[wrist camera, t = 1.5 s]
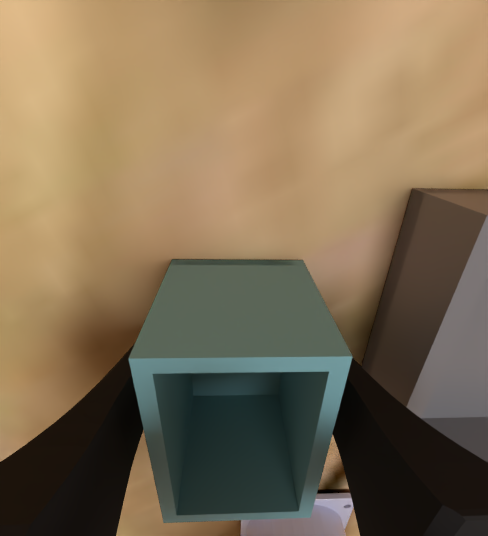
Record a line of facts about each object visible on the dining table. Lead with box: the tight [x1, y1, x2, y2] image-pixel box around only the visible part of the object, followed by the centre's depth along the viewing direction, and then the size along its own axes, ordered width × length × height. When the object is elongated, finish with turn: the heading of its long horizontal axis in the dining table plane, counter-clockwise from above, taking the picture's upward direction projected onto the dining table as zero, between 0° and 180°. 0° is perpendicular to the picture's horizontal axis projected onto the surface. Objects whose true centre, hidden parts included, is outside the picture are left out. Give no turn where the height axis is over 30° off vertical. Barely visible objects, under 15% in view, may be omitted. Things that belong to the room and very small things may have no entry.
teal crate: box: [128, 259, 353, 523], centre depth 11 cm, size 8×5×6 cm
